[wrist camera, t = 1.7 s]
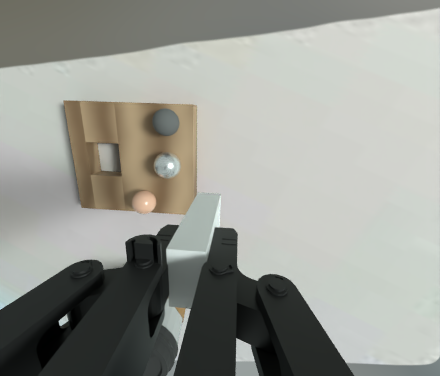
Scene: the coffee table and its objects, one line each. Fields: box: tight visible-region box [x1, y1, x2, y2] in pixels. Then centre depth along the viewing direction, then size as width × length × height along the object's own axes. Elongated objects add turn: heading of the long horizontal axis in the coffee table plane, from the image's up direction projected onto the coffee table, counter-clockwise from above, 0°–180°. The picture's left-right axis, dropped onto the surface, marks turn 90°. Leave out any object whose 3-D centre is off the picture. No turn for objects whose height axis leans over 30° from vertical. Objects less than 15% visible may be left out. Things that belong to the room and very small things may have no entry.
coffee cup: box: [143, 299, 186, 376], centre depth 31 cm, size 8×8×15 cm
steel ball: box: [154, 152, 181, 179], centre depth 28 cm, size 3×3×3 cm
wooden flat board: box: [64, 101, 197, 215], centre depth 31 cm, size 17×15×2 cm
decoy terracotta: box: [132, 191, 156, 214], centre depth 30 cm, size 3×3×3 cm
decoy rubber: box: [152, 108, 180, 136], centre depth 27 cm, size 3×3×3 cm
